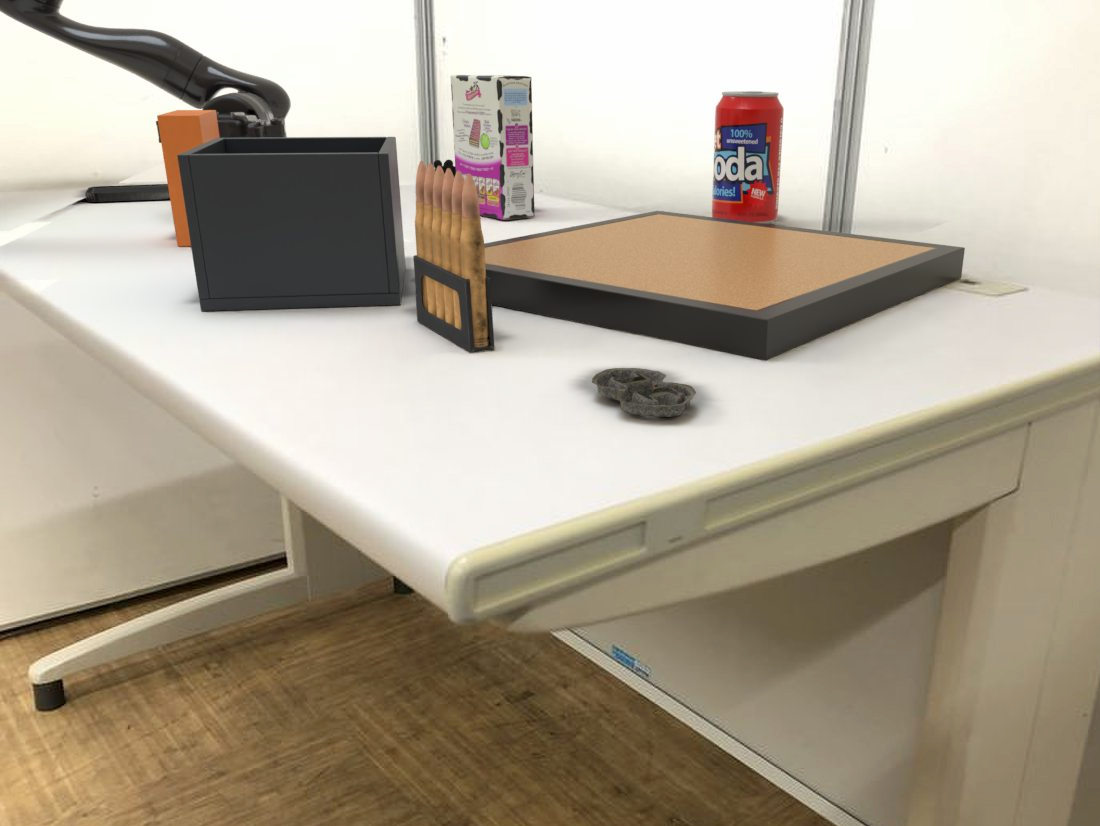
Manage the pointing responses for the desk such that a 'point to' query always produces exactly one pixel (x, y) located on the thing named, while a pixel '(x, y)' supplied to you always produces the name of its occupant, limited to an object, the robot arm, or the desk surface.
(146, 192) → the phone
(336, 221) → the trash can
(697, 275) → the cork board
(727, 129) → the soda can
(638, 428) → the desk surface
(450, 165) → the wireless earbuds
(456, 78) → the candy bar box
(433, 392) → the desk surface
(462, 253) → the ammunition clip
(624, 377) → the corroded twin loop
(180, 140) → the block
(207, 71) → the robot arm
